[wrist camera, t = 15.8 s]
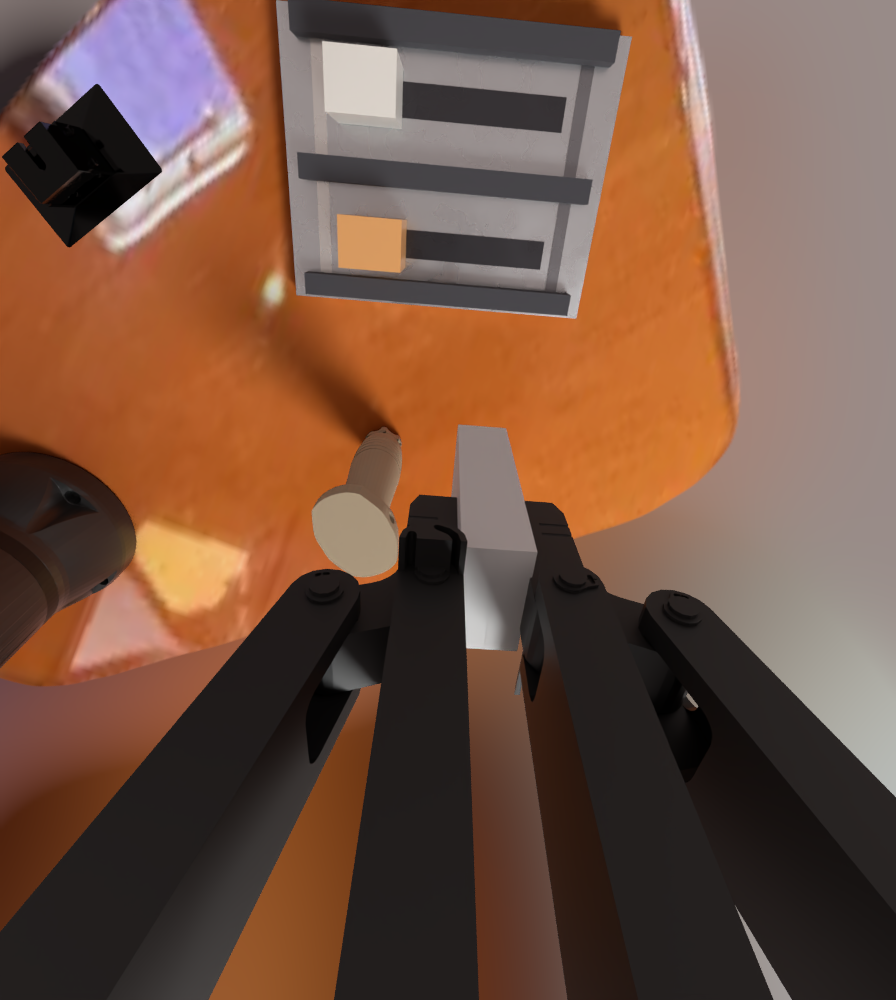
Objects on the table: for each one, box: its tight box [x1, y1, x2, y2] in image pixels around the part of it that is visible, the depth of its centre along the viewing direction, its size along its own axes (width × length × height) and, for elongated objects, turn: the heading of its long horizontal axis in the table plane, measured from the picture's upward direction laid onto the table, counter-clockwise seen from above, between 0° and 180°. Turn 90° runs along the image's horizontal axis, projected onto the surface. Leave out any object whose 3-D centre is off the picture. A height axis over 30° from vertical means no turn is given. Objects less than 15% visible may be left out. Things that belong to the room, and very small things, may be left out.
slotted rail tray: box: [288, 0, 621, 316], centre depth 32 cm, size 19×16×1 cm
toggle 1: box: [322, 41, 403, 129], centre depth 29 cm, size 4×3×4 cm
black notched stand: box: [2, 84, 162, 247], centre depth 33 cm, size 12×7×5 cm, turn 119°
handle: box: [312, 427, 402, 577], centre depth 38 cm, size 5×6×15 cm
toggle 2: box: [337, 214, 407, 273], centre depth 33 cm, size 4×3×4 cm
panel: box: [276, 0, 632, 319], centre depth 34 cm, size 21×16×2 cm
